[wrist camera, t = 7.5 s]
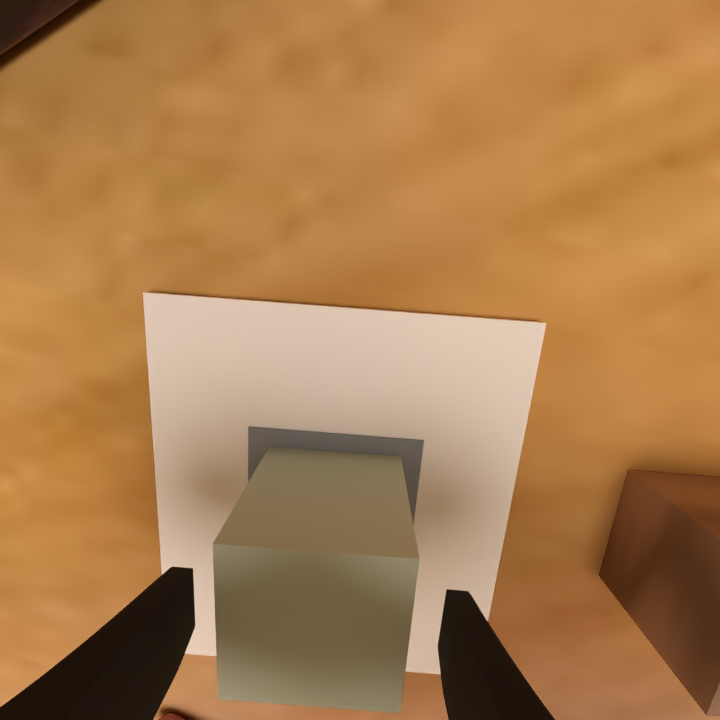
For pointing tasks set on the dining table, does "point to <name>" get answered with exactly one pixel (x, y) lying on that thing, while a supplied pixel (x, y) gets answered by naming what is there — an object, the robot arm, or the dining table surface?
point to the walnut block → (671, 573)
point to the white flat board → (340, 427)
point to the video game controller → (171, 717)
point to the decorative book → (26, 18)
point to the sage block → (317, 583)
